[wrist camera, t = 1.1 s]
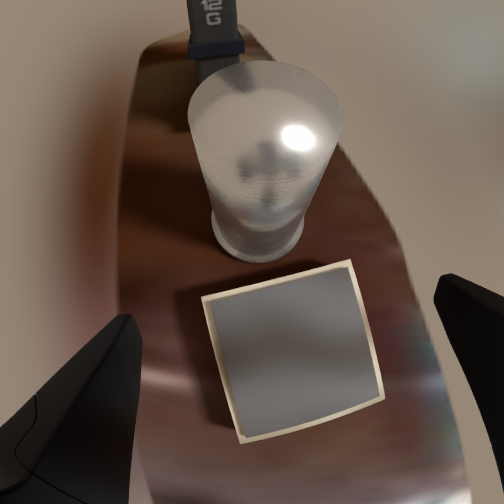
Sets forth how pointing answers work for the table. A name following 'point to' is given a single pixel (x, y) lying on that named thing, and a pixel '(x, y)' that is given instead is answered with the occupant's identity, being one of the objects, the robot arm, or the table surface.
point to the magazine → (213, 36)
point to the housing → (262, 153)
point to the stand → (294, 351)
